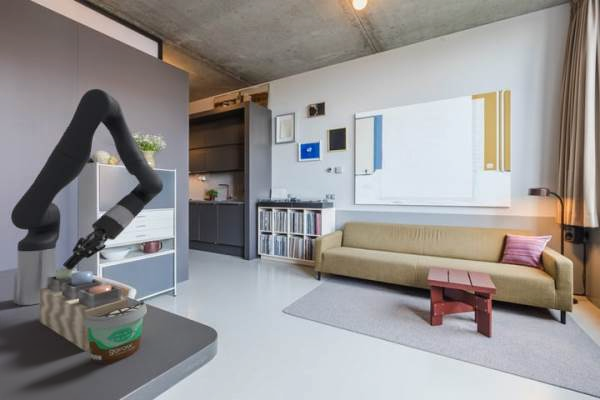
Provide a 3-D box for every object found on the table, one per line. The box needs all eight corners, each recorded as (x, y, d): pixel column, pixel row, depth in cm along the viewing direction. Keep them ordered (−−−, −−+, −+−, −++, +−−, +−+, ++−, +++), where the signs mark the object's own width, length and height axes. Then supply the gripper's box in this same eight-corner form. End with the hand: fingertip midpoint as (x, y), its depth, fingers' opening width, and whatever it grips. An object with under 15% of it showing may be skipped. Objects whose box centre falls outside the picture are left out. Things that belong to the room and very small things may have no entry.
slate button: (68, 286, 72) (68, 273, 72) (88, 281, 76) (88, 270, 76) (75, 289, 70) (75, 276, 70) (95, 284, 73) (95, 272, 73)
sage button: (53, 281, 77) (53, 269, 77) (72, 277, 81) (72, 266, 81) (59, 283, 75) (59, 272, 75) (79, 279, 78) (79, 268, 78)
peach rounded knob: (85, 301, 67) (85, 288, 67) (105, 296, 70) (106, 284, 70) (94, 305, 64) (94, 292, 64) (114, 299, 68) (114, 287, 68)
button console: (39, 321, 76) (40, 278, 76) (78, 310, 84) (79, 271, 84) (85, 351, 61) (86, 298, 62) (127, 334, 69) (128, 287, 69)
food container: (96, 374, 53) (96, 323, 53) (82, 364, 57) (83, 316, 57) (157, 346, 64) (157, 304, 64) (143, 339, 67) (143, 298, 67)
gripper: (95, 213, 89) (45, 257, 79) (115, 214, 82) (64, 262, 72) (112, 228, 94) (68, 271, 83) (133, 230, 87) (88, 278, 76)
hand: (66, 267), depth 78 cm, fingers closed
